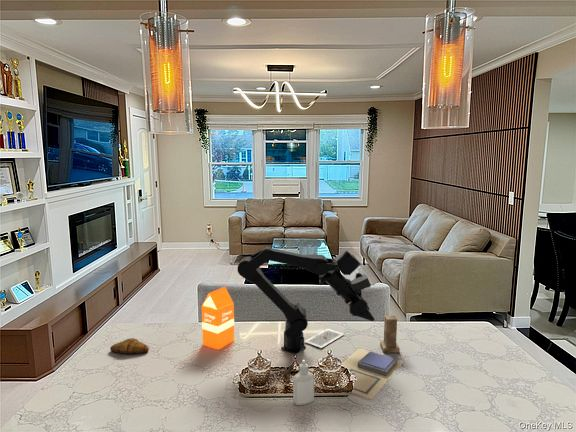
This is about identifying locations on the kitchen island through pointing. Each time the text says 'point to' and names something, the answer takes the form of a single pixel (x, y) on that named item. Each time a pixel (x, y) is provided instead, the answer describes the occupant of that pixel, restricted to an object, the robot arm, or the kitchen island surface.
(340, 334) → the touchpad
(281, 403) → the kitchen island surface
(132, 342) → the croissant
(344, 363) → the board
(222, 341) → the orange juice
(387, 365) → the ink pad
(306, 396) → the eye dropper bottle
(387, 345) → the walnut stamp
